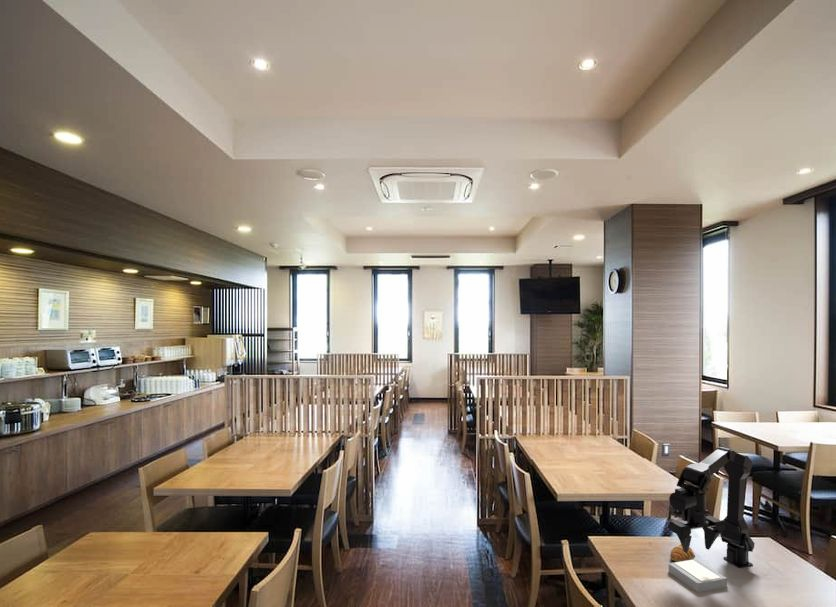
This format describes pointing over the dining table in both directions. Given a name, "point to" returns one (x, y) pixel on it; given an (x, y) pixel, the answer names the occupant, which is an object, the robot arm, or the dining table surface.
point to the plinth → (697, 575)
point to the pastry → (681, 554)
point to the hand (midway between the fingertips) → (696, 550)
